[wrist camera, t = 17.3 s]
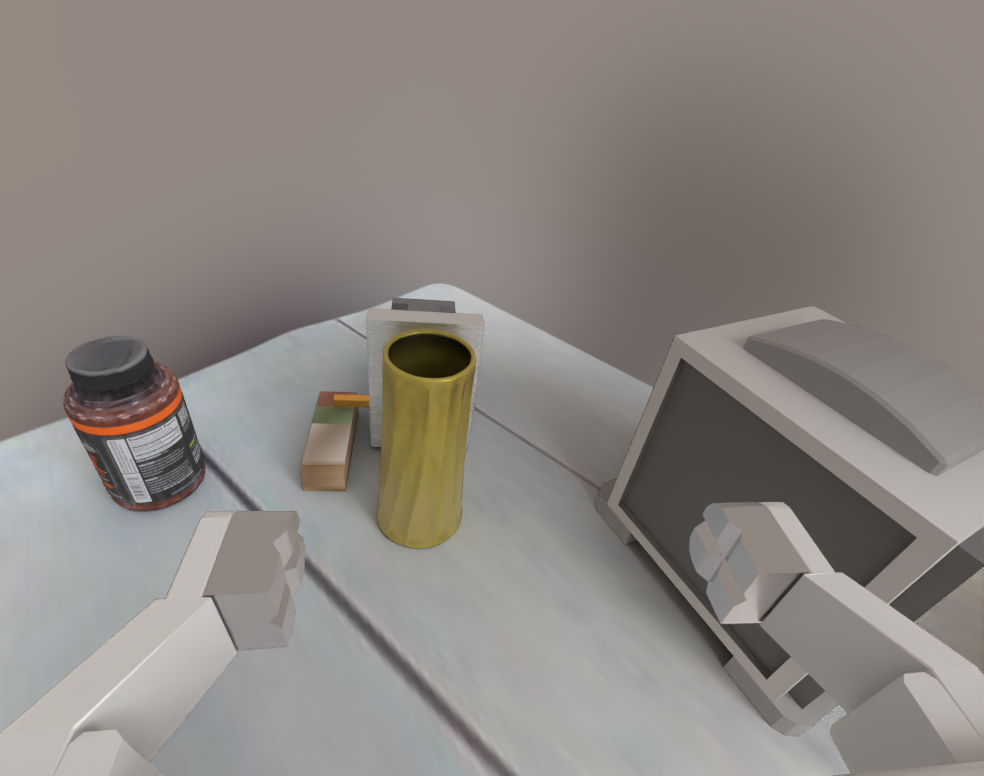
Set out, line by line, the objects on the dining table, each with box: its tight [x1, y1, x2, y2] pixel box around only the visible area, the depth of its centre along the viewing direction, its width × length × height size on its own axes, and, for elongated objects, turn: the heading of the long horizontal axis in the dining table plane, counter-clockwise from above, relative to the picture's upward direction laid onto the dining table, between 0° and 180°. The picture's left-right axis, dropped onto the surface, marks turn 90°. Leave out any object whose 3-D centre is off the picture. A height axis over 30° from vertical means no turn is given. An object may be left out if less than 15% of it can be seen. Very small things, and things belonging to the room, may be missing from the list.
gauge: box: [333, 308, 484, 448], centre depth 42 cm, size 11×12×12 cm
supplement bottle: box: [63, 336, 205, 511], centre depth 33 cm, size 6×6×11 cm
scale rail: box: [301, 392, 358, 491], centre depth 40 cm, size 3×9×2 cm, turn 6°
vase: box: [377, 329, 476, 548], centre depth 32 cm, size 6×6×14 cm
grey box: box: [595, 306, 984, 736], centre depth 31 cm, size 18×13×18 cm
